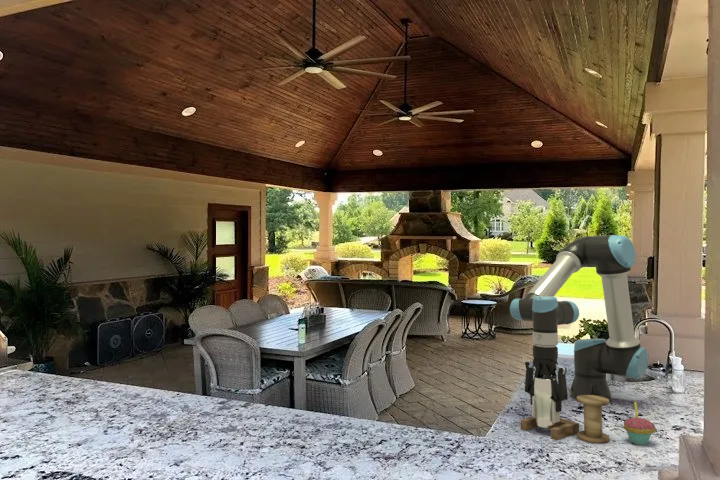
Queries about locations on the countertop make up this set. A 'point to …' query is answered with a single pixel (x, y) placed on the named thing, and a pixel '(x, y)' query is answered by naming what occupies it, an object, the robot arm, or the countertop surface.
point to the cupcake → (639, 428)
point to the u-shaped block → (558, 432)
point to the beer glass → (543, 402)
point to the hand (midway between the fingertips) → (545, 419)
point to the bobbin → (593, 419)
